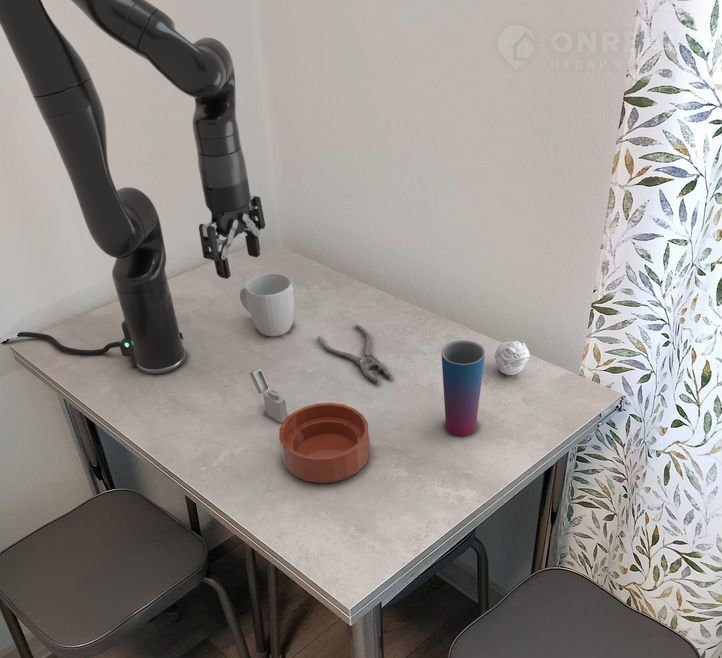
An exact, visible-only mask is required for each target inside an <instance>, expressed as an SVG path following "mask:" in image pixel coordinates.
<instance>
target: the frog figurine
mask: <svg viewBox="0 0 722 658" xmlns="http://www.w3.org/2000/svg"><path fill="white" fill-rule="evenodd" d="M530 359H531V356H530V351H529V349H528V347H527V346H526V343H525V342H520V341H518V340H514V341H513V340H510V341H504V342H502V343H500V344H499V345H498V346H497V348H496V349H495V352H494V360H495V362H496V365H497V366H496V367H497V368H498V369H499V371H500V372H501V373H503V374H504V375H507V376H515V375H517V374H519V373H521V371H522V370H523V369H524V367H525V366H526V364H527V363H526V362H528V361H529V360H530Z"/></svg>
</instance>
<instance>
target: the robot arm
mask: <svg viewBox="0 0 722 658" xmlns="http://www.w3.org/2000/svg"><path fill="white" fill-rule="evenodd" d="M70 1H71V2H72V3H73V4H74V5H75V6H76V7H77V8H79V10H81V11H82V13H83V14H84V15H85V16H86V17H87V18H88V19H89V20H90V21H91V22H92V23H93V24H94V25H95V27H97V28H98V29H99V30H101V31H102V32H103V33H104V34H106V35H107V36H108V37H110V38H111V39H113V41H115V42H117V43H118V44H120V45H122V46H123V47H125V48H127V49H128V50H130V51H131V52H133V53H134V54H136V55H138V56H139V57H141V58H142V59H144V60H146V61H147V62H149V64H151V65H152V66H153V67H154V69H155V70H156V71H157V72H158V73H159V74H161V75H162V76H163V78H165V79H166V80H168V81H169V83H170V84H172V85H173V86H174V87H175V88H176V89H178V90H179V91H180V92H182V93H184V94H185V95H188V96H189V97H191V98H193V99H194V105H195V106H194V112H193V115H192V121H191V122H192V130H193V136H194V142H195V147H196V151H197V164H198V171H199V175H200V181H201V188H202V192H203V197H204V202H205V206H206V208H207V209H208V210H209V212H210V213H211V219H210V222H208V223H200V224H199V225H198V232H199V238H200V239H199V240H200V244H201V251H202V256H203V258H204V259H206V260H210V261H214V267H215V271H216V275H217V276H218V277H219V278H222V279H225V280H228V279H230V278H231V276H232V275H231V270H230V265H229V264H230V263H229V259H228V257H227V256H228V251H229V248H230V247H232V244H233V241H234V239H235V238H237V237H238V235H239V234H243V233H244V234H245V236H244V237H245V244H246V248H247V254H248V256H250V257H253V258H258V257H259V256H260V255H261V246H260V239H259V238H260V237H259V236H260V231H261V230H264V229H265V228H266V221H265V216H264V210H263V206H262V205H263V204H262V200H261V197H260V196H257V195H253V194H251V191H250V184H249V179H248V172H247V166H246V159H245V156H244V152H243V149H242V144H241V137H240V130H239V125H238V120H237V112H236V107H237V105H236V104H237V99H236V98H237V97H236V96H237V95H236V75H235V67H234V63H233V59H232V56H231V53H230V52H229V50H228V48H227V47H226V45H224V43H222V42H221V41H219V40H218V39H216V38H213V37H202V38H199V39H198V40H195V41H194V42H193V43H192V42H191V41H190V40H188V39H187V38H186V37H185V36H183V35H182V34H181V33H179V32H178V30H176V25H175V21H174V20H173V19H172V18H171V17H170V16H169V15H168V14H166V13H165V12H164V11H162V10H161V9H159V8H158V7H156V6H155V5H153V4H152V3H150V2H149V1H148V0H70ZM0 27H1V28H2V31H3V33H4V35H5V38H6V40H7V42H8V44H9V47H10V48H11V51H12V53H13V55H14V58H15V59H16V62H17V63H18V65H19V68H20V70H21V72H22V74H23V76H24V79H25V80H26V83H27V85H28V88H29V91H30V93H31V95H32V98H33V100H34V102H35V104H36V107H37V109H38V110H39V113H40V115H41V118H42V120H43V121H44V123H45V125H46V127H47V129H48V131H49V133H50V135H51V138H52V140H53V143H54V145H55V146H56V149H57V152H58V153H59V156H60V159H61V161H62V163H63V165H64V167H65V169H66V172H67V174H68V177H69V179H70V182H71V185H72V187H73V191H74V194H75V195H76V199H77V201H78V205H79V208H80V211H81V213H82V217H83V219H84V222H85V225H86V227H87V230H88V232H89V234H90V236H91V238H92V240H93V241H94V243H95V244H96V245H97V246H98V248H99V249H100V250H101V251H102V252H103V253H104V254H106V255H108V256H109V257H111V258H115V261H114V264H113V267H112V270H111V278H112V281H113V285H114V288H115V291H116V295H117V298H118V301H119V305H120V309H121V312H122V315H123V319H124V320H123V321H122V323H121V325H120V326H121V330H122V333H123V335H124V337H123V338H122V339H121V340H120V341H113V342H110V343H107V344H105V345H104V347H103V348H97V349H78V348H73V347H68V346H65V345H63V344H62V343H60V342H59V341H58V340H57V339H56V338H54V337H53V336H51V335H50V334H46V333H41V332H40V333H39V332H32V331H19V332H20V333H18V335H17V336H18V337H17V338H33V339H42V340H46V341H49V342H51V344H52V345H53V346H55V348H56V349H58V350H60V351H62V352H65V353H68V354H73V355H80V356H97V355H98V356H99V355H103V354H106V353H108V352H109V350H110V349H113V348H119V349H120V353H121V355H122V357H127V358H130V360H131V364H132V367H133V368H137V369H138V370H139V371H141V372H142V373H145V374H149V375H162V374H166V373H169V372H172V371H174V370H176V369H178V368H179V367H181V366H182V365H183V364H184V363H185V361H186V357H187V356H186V351H185V349H184V345H183V341H184V336H183V333H182V332H181V331H180V327H179V323H178V320H177V315H176V311H175V305H174V302H173V298H172V293H171V289H170V286H169V281H168V276H167V273H166V264H167V253H166V247H165V241H164V236H163V235H164V234H163V229H162V225H161V220H160V217H159V216H160V215H159V213H158V211H157V208H156V206H155V205H154V203H153V202H152V200H151V199H150V197H149V196H148V195H147V194H146V193H144V192H143V191H142V190H140V189H138V188H135V187H132V186H131V187H129V186H126V187H125V186H124V187H120V188H119V189H117V187H116V185H115V183H114V180H113V177H112V174H111V170H110V166H109V159H108V142H107V141H108V140H107V138H108V137H107V125H106V123H107V122H106V115H105V110H104V107H103V103H102V101H101V98H100V95H99V93H98V91H97V88H96V86H95V83H94V81H93V78H92V77H91V73H90V71H89V69H88V68H87V67H88V66H87V65H86V63H85V62H84V60H83V59H82V57H81V55H80V54H79V52H78V51H77V50H76V49H75V47H74V46H73V44H71V42H70V41H69V40H68V38H67V37H65V35H64V34H63V33H62V31H61V30H60V29H59V27H57V25H56V24H55V22H54V21H53V19H52V18H51V16H50V15H49V13H48V11H47V9H46V8H45V5H44V4H43V2H42V0H0ZM220 237H223V238H225V239H221V238H220ZM220 246H221V247H220ZM219 249H220V251H219ZM13 339H14V338H12V339H7V340H6V341H3V342H2V343H0V345H5V344H7V343H8V342H9V341H11V340H13Z"/></svg>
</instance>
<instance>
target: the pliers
mask: <svg viewBox="0 0 722 658" xmlns="http://www.w3.org/2000/svg"><path fill="white" fill-rule="evenodd" d="M354 327H355V328H356V329H358V330H359V331H360V332H361V333H362V334H363V335H364V337H365V346H364V357H359V356H356V355H354V354H351V353H349V352H345V351H341V350H338V349H335V348H332V347H331V346H329V345H327V344H326V343H325V342H324V340H323V339H322V336H321V335H318V336H317V341H318V342H319V344H320V345H321V346H322V347H323V348H324V349H325V351H328V352H329V353H331V354H334V355H336V356H339V357H342V358H345V359H348V360H350V361H352V362H354V363H355V365H356V366H357V367H358V368H359V369H360V371H361V372H362V374H363V375H364V376H365V378H367V379H368V380H370V381H371V382H373V384H374V385H378V378H377V377H376V375H375V374H374V371H373V370H377V372H378V373H379V374H382V375H383V377H385V378H386V379H388V380H389V381H390V380H391V374H390V372H389V371H388V368H387V367H386V366H385V365H384V364H383V363H382V362H380V360H378V359H377V358H376V357H375V356H374V355H373V354H372V352H371V336H370V334H369V332H368V331H367V330H366V329H364V328H363V326H361V325H359V324H357V323H356V324H355V326H354Z"/></svg>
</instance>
